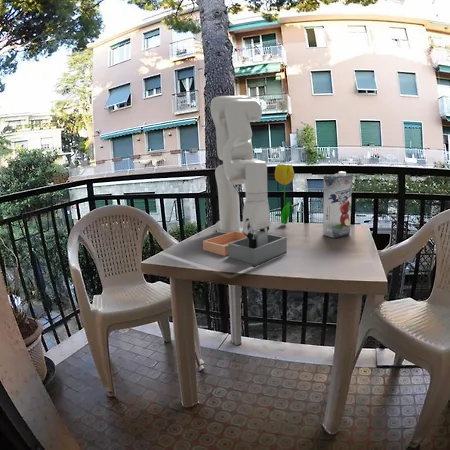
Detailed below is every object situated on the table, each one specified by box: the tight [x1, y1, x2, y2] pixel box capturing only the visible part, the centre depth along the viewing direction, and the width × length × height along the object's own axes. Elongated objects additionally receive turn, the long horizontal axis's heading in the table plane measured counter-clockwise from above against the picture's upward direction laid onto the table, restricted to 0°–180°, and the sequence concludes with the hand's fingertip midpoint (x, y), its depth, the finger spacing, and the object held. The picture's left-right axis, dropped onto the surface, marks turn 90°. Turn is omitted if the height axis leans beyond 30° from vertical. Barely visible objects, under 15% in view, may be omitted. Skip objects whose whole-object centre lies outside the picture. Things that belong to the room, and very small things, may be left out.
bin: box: [228, 233, 288, 268], centre depth 115 cm, size 12×18×6 cm, turn 134°
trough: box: [202, 231, 247, 257], centre depth 125 cm, size 12×18×4 cm, turn 134°
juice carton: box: [322, 170, 354, 239], centre depth 133 cm, size 9×10×27 cm
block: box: [248, 230, 269, 247], centre depth 114 cm, size 5×5×6 cm
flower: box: [274, 163, 295, 225], centre depth 154 cm, size 9×8×30 cm
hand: (257, 246), depth 115 cm, fingers closed on block, 5 cm apart
